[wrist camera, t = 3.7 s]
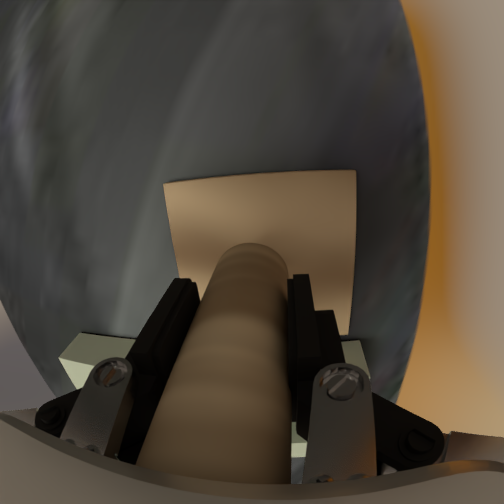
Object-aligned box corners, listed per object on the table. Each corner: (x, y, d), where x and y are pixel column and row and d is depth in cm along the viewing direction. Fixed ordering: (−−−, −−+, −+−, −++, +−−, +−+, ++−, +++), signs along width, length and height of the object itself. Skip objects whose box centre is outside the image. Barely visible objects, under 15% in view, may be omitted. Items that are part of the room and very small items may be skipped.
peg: (210, 244, 12) (93, 479, 3) (287, 240, 12) (290, 514, 3) (221, 307, 13) (157, 521, 4) (289, 305, 13) (287, 537, 4)
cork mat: (166, 182, 15) (163, 184, 15) (353, 169, 14) (356, 170, 13) (195, 332, 19) (193, 337, 18) (346, 329, 17) (348, 334, 17)
